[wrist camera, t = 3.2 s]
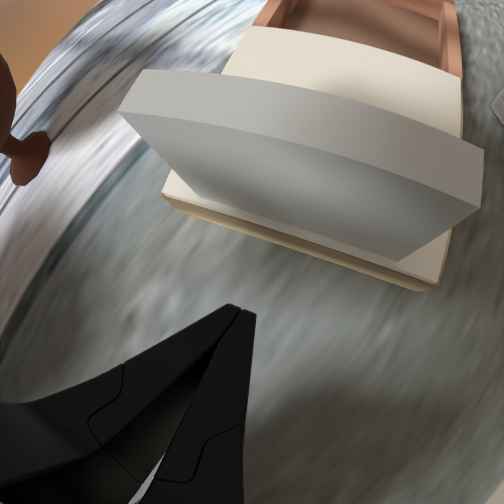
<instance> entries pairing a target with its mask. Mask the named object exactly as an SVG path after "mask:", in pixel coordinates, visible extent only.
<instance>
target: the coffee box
mask: <svg viewBox="0 0 504 504" xmlns="http://www.w3.org/2000/svg"><path fill="white" fill-rule="evenodd" d="M490 107H491V109H492V110H493V112H494V113H495V114H496V116H497V117H498V119H499V120H500V122H501V123H502V125H503V126H504V86H503V87H502V89H501V90H500V91H499V93H498V94H497V96H496V97H495V98H494V100H493V101H492V102H491V104H490Z"/></svg>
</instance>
